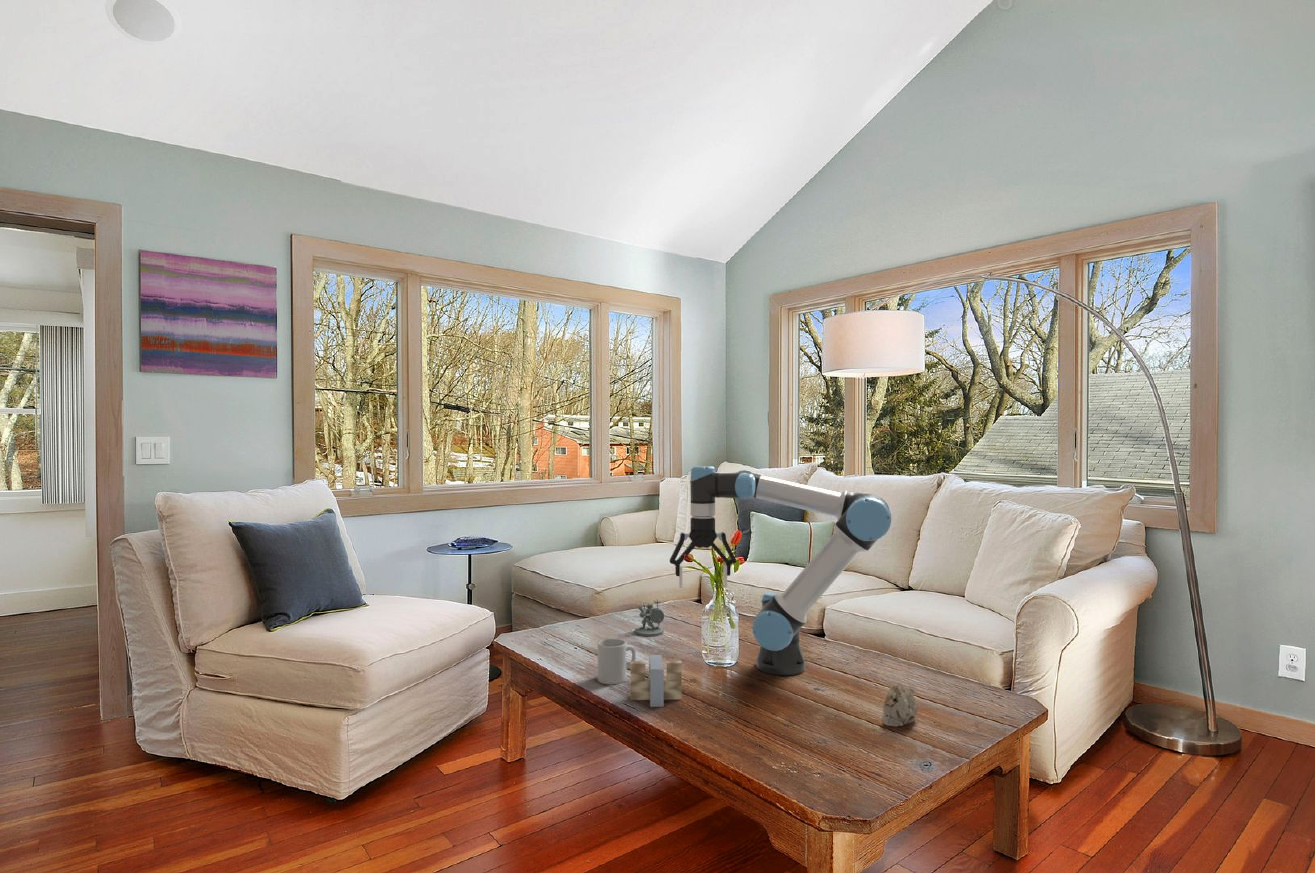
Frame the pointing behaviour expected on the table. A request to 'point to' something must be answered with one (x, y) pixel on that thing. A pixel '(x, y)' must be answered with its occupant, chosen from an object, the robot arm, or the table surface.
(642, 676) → the slot plate fixed
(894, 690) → the rock
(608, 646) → the mug
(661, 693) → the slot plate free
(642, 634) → the figurine
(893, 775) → the table surface
